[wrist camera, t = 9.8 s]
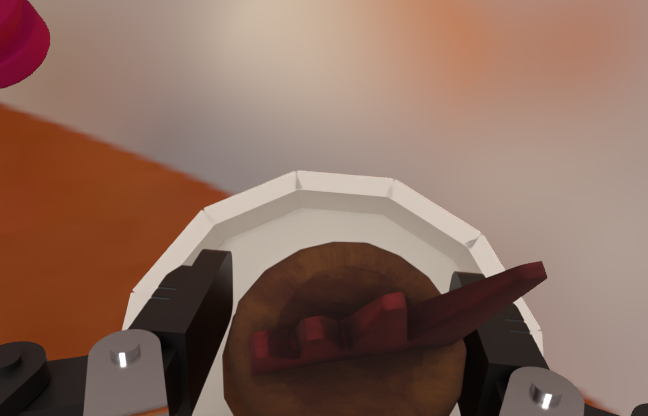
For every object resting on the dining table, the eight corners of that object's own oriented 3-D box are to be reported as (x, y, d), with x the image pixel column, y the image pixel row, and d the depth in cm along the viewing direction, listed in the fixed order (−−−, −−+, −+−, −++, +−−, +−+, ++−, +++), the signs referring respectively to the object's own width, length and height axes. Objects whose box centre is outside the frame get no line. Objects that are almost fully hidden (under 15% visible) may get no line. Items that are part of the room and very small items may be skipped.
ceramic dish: (93, 577, 20) (55, 607, 17) (180, 183, 26) (163, 158, 24) (529, 628, 19) (564, 668, 16) (509, 212, 26) (532, 190, 23)
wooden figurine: (428, 319, 20) (679, 127, 6) (407, 473, 18) (723, 737, 4) (270, 285, 20) (161, 33, 6) (231, 431, 18) (-54, 523, 4)
